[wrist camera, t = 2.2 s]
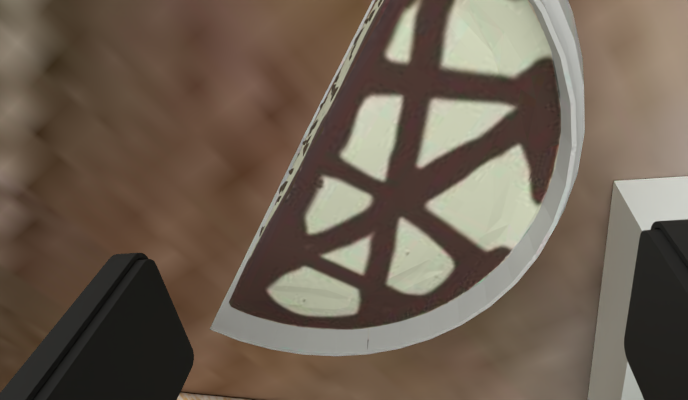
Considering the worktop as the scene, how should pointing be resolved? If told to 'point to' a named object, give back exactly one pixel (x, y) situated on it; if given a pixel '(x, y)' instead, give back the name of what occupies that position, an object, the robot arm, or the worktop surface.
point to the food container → (418, 179)
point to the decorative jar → (203, 397)
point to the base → (627, 276)
